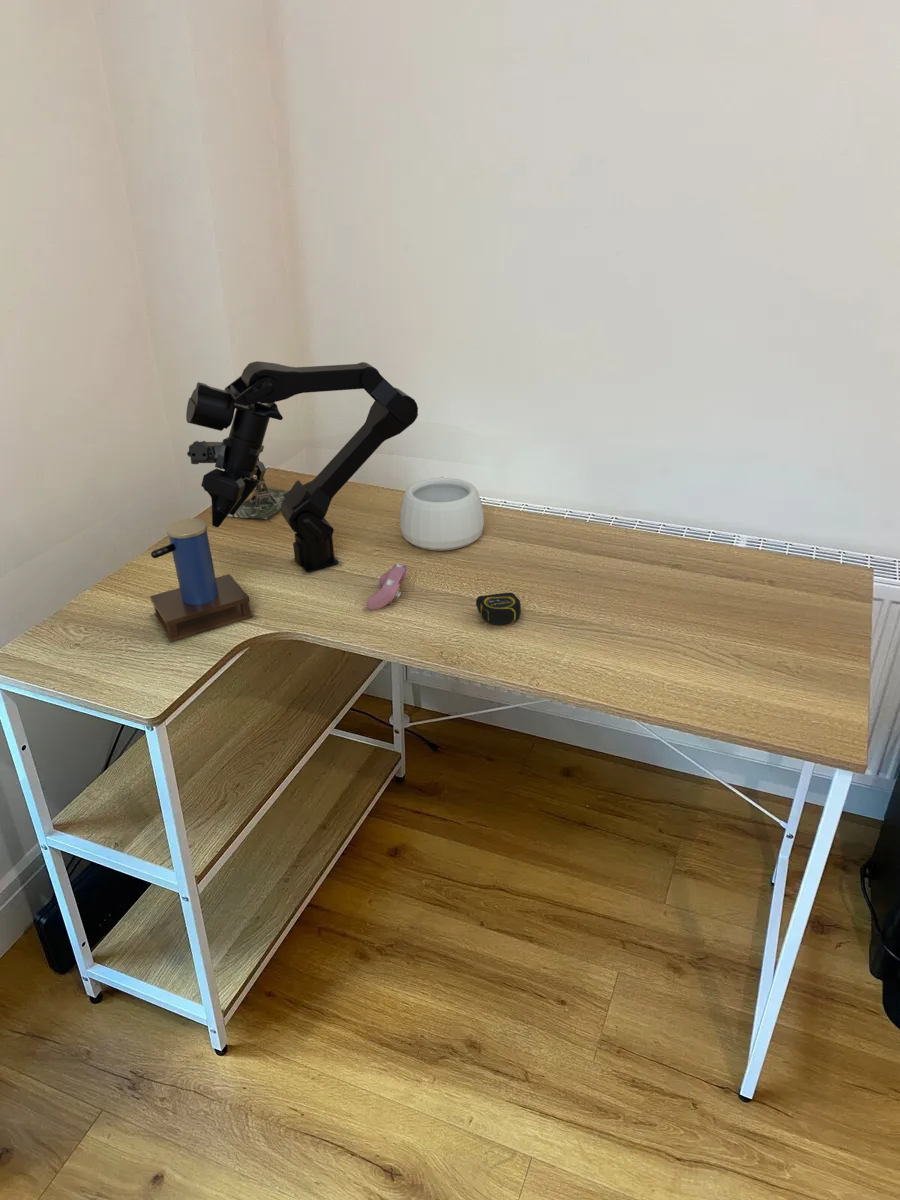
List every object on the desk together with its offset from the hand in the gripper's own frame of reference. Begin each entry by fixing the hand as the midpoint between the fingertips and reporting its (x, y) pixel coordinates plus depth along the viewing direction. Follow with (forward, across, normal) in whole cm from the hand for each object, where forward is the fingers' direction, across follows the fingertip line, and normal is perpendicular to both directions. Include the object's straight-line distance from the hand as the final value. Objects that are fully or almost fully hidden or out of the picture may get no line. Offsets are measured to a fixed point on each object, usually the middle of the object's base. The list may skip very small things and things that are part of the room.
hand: (223, 520), depth 152 cm
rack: (+14, +10, +3) cm, 18 cm away
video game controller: (+2, +4, +32) cm, 33 cm away
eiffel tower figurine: (+6, -36, 0) cm, 36 cm away
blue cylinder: (+11, +12, +1) cm, 17 cm away
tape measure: (-4, +10, +50) cm, 52 cm away
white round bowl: (-6, -23, +38) cm, 45 cm away
